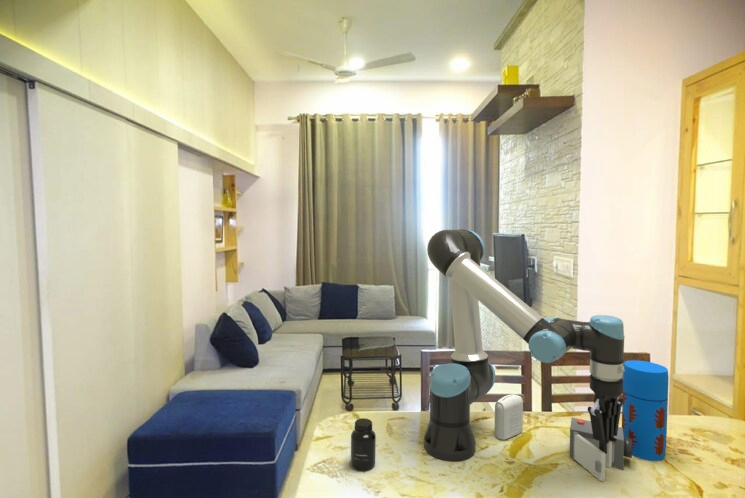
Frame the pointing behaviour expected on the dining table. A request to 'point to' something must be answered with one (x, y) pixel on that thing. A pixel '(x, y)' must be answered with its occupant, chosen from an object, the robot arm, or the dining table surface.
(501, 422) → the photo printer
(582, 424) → the camera body
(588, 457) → the side door
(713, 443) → the dining table surface
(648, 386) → the thermos
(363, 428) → the supplement bottle
